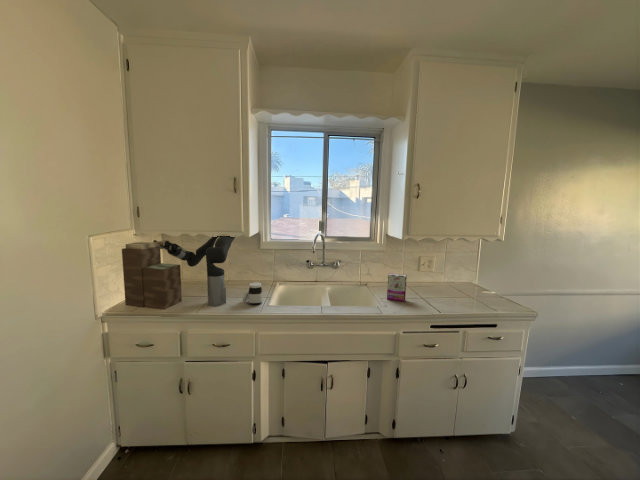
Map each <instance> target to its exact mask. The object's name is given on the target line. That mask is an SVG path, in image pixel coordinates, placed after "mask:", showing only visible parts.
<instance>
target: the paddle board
mask: <svg viewBox="0 0 640 480" xmlns="http://www.w3.org/2000/svg"><path fill="white" fill-rule="evenodd" d="M156 241H157V242H152V241H151V242H150V241H137V242H129V243H125V248H126V249H139V250H142V249H147V248H153V247H156V246H158V245H165V241H168V242H170V240H159V241H158V240H156Z"/></svg>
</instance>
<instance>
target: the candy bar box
mask: <svg viewBox="0 0 640 480" xmlns="http://www.w3.org/2000/svg"><path fill="white" fill-rule="evenodd" d="M407 276H408V275H407V274H400V273H399V274H398V273H389V274H387V293H386V299H387V300H390V301H395V302H396V301H397V302H402V303H405V302H406V294H407V279H408V277H407Z"/></svg>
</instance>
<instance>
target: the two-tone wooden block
mask: <svg viewBox="0 0 640 480" xmlns="http://www.w3.org/2000/svg"><path fill="white" fill-rule="evenodd" d="M161 253H162V252H161V249H160V247H159V246H156V247H153V248H147V249H142V250H139V249H126V247H125V248H121V258H122V259H121V260H122V270H123V271H122V272H123V288H124V299H125V300H124V303H125V306H130V307H139V308H148V309H149V308H150V309H159V310H166V309H169V308H171V307H173V306H176V305H178V304H179V303H182V301H183V300H182V274H181V272H182V271H181V264H174V263H163V262H162V257H161V256H162V255H161Z"/></svg>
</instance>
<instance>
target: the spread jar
mask: <svg viewBox="0 0 640 480" xmlns="http://www.w3.org/2000/svg"><path fill="white" fill-rule="evenodd" d="M248 286H249V287H248V290H247V291H246V292H244V294H243V296H242V301H243V302H247V301H248V305H250V306H258V305H261V304H262V302H263V287H262V283H261V282H257V281H255V282H251V283H249V285H248Z"/></svg>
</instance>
